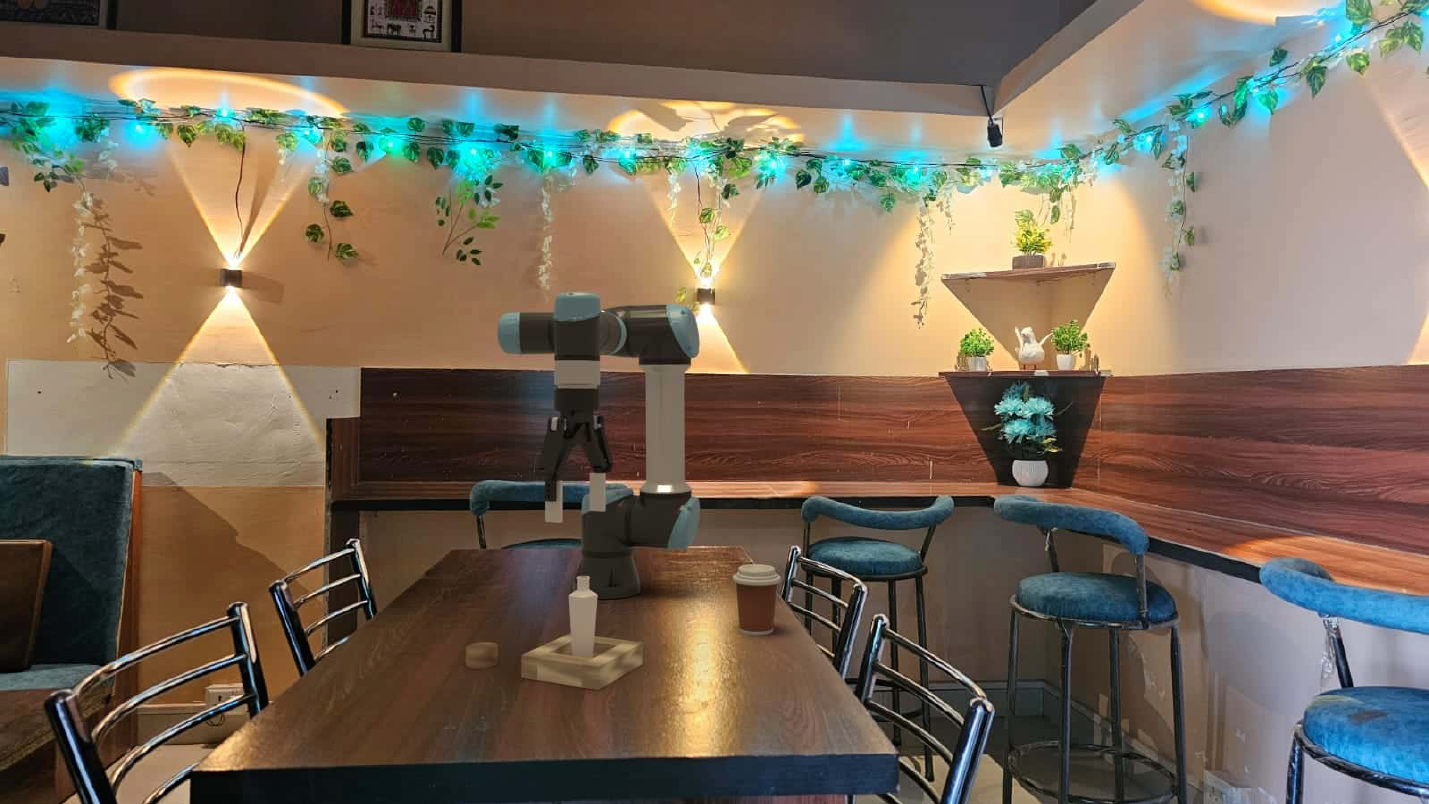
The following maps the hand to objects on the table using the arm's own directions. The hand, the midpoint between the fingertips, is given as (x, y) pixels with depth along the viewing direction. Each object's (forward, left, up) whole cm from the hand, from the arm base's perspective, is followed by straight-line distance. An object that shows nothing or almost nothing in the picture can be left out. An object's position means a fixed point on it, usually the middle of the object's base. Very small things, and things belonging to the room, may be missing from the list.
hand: (576, 516), depth 139 cm
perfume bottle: (+2, +3, -25) cm, 25 cm away
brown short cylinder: (+6, -14, -25) cm, 29 cm away
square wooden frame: (+2, +3, -24) cm, 25 cm away
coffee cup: (-32, +20, -25) cm, 45 cm away
